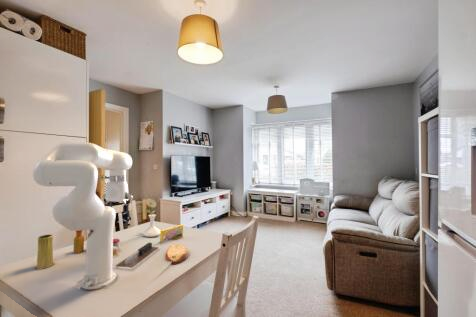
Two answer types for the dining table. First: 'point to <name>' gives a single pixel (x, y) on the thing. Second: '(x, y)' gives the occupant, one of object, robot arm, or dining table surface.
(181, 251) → the slice of bread
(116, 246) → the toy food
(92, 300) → the dining table surface
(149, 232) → the flower in vase
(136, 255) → the knife
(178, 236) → the candy box
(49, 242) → the vase
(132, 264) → the board
